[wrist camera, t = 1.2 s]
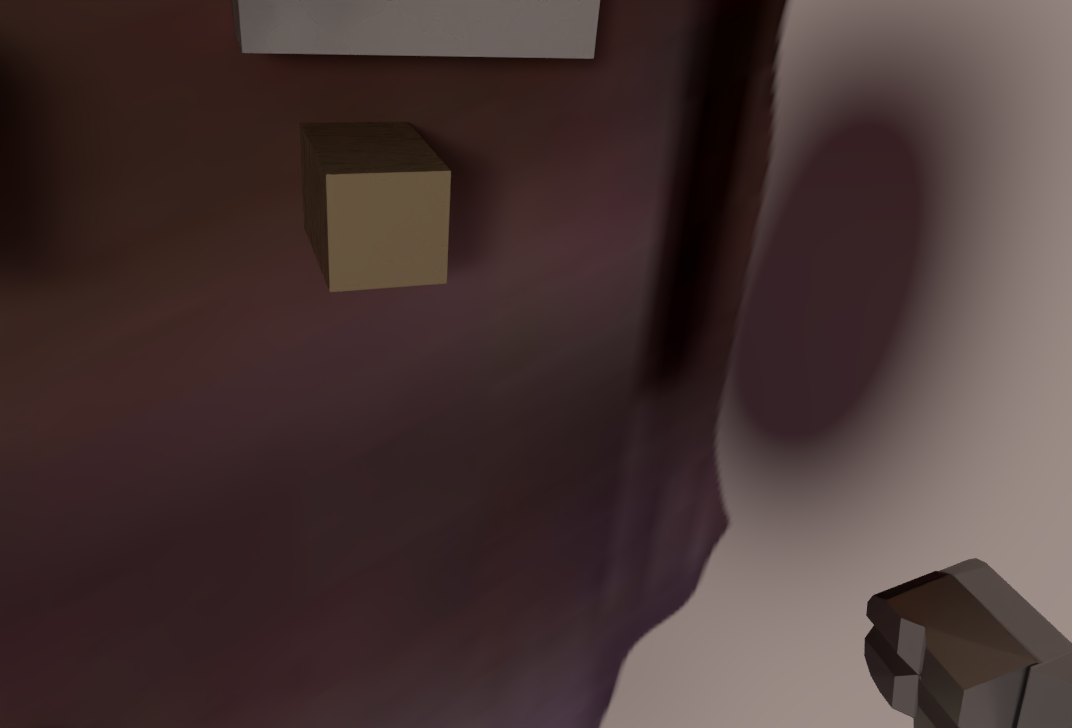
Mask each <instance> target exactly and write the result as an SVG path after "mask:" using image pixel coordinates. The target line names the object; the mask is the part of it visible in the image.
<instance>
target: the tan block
mask: <svg viewBox="0 0 1072 728" xmlns="http://www.w3.org/2000/svg"><path fill="white" fill-rule="evenodd" d="M300 144H301V166H302V187H303V209H304V227H305V230H306V232H307V235H308V238H309V240H310V243H311V245H312V248H313V250H314V253H315V256H316V258H317V261H318V263H319V266H320V268H321V271H322V273H323V276H324V279H325V281H326V284H327V286H328V289H329V291H330V292H338V291H352V290H365V289H379V288H392V287H405V286H419V285H432V284H445V283H447V264H448V238H449V211H450V185H451V170H450V169H449V168H448V167H447V166H446V165H445V163H444V162H443V161H442V160H441V159H440V158H439V157H438V155H437V154H436V153H435V152H434V151H433V150H432V149H431V148H430V146H429V145H428V144H427V143H426V142H425V141H424V140H423V138H422V137H421V136H420V135H419V134H418V133H417V132H416V131H415V129H414V128H413V127H412V126H411V125H410V124H409V123H408V122H336V123H300Z"/></svg>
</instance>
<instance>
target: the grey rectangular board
mask: <svg viewBox="0 0 1072 728" xmlns="http://www.w3.org/2000/svg"><path fill="white" fill-rule="evenodd" d="M232 4H233V17H234V30H235V36H236V39H237V41H238V44H239V46H240V49H241V51H242V53H279V54H340V55H401V56H462V57H523V58H584V59H594V51H595V42H596V33H597V24H598V15H599V6H600V0H232Z"/></svg>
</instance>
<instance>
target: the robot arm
mask: <svg viewBox="0 0 1072 728" xmlns="http://www.w3.org/2000/svg"><path fill="white" fill-rule="evenodd" d="M866 615H867V617H868V618H869V619H870V621H871V622H872V623H873V624H874V626H873V628H872V629H871V630H870V632H869V633H868V635H867V636H866V637H865V655H864V656H865V659H866V662H867V665H868V668H869V672H870V675H871V677H872V679H873V680H874V682H875V684H876V686H877V688H878V689H879V691H880V693H881V694H882V695H883V696H884V698H885V699H886V701H887V702H888V703H889V705H890V706H891V707H892V708H893V709H895V710H897V711H900V712H902V713H904V714H906V715H908V716H910V717H912V718H914V728H1072V643H1071V642H1070V641H1069V640H1068V639H1067V638H1065V637H1064V636H1063V635H1062V634H1061V633H1060V632H1059V631H1058V630H1057V629H1056V628H1055V627H1054V626H1053V625H1052V624H1051V623H1050V622H1048V621H1047V620H1046V619H1045V618H1044V617H1043V616H1042V615H1041V614H1040V613H1039V612H1038V611H1037V610H1036V609H1035V608H1033V606H1031V605H1030V604H1029V603H1028V602H1027V601H1026V600H1025V599H1024V598H1023V597H1022V596H1021V595H1020V594H1018V593H1017V592H1016V591H1015V590H1014V589H1013V588H1012V587H1011V586H1010V585H1009V584H1008V583H1007V582H1006V581H1005V580H1004V579H1003V578H1001V577H1000V576H999V575H998V574H997V573H996V572H995V571H994V570H993V569H992V568H991V567H990V566H989V565H988V564H987V563H985V562H983V561H981V560H979V559H976V558H974V559H969V560H966V561H963V562H961V563H958V564H956V565H953V566H951V567H948V568H946V569H943V570H940V571H934V572H932V573H929V574H926V575H924V576H921V577H919V578H916V579H914V580H911V581H909V582H906V583H903V584H901V585H898V586H896V587H893V588H891V589H888V590H885V591H883V592H880V593H878V594H875V595H873V596H872V597H871V599H870V600H869V601H868V604H867V614H866Z"/></svg>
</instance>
